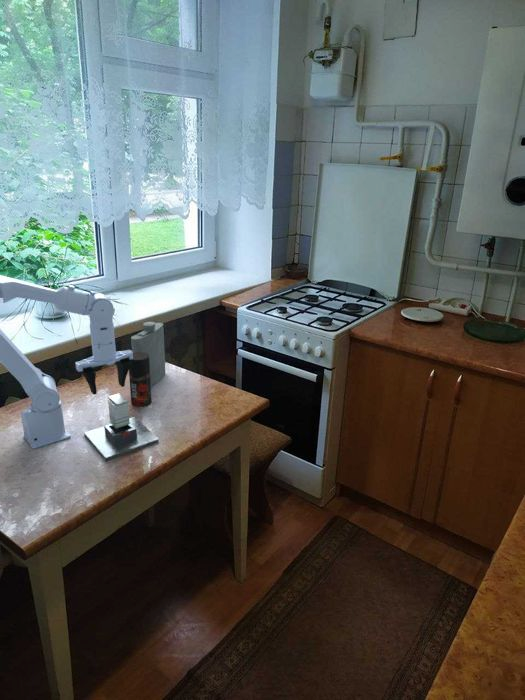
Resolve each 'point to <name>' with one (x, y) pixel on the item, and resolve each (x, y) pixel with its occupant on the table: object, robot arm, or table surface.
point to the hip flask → (152, 348)
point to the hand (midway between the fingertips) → (108, 389)
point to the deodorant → (140, 380)
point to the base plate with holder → (120, 439)
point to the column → (118, 410)
